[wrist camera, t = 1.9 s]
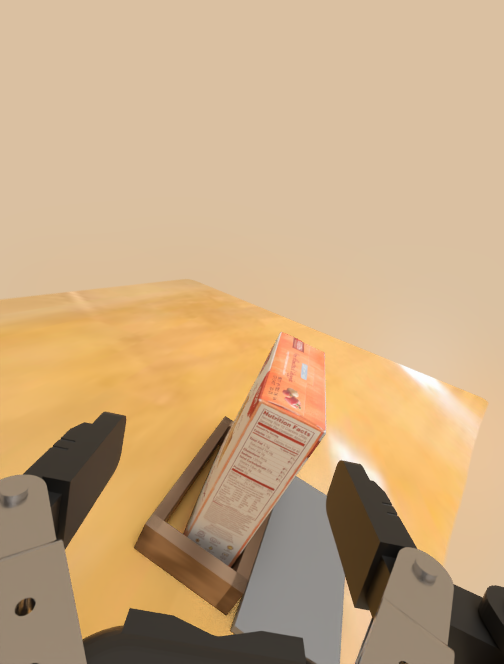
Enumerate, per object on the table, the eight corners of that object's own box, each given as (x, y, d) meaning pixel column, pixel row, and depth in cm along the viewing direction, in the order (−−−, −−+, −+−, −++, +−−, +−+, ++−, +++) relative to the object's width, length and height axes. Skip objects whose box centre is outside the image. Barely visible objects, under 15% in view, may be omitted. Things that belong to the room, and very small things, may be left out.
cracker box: (214, 451, 45) (280, 328, 36) (253, 471, 45) (328, 352, 36) (171, 550, 32) (258, 394, 23) (225, 578, 32) (332, 432, 23)
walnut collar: (134, 547, 31) (145, 523, 29) (215, 435, 47) (225, 416, 46) (226, 615, 29) (243, 594, 28) (276, 474, 46) (289, 456, 44)
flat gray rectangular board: (230, 630, 28) (234, 625, 28) (282, 474, 46) (285, 469, 46) (331, 705, 27) (337, 701, 26) (344, 513, 45) (348, 509, 45)
